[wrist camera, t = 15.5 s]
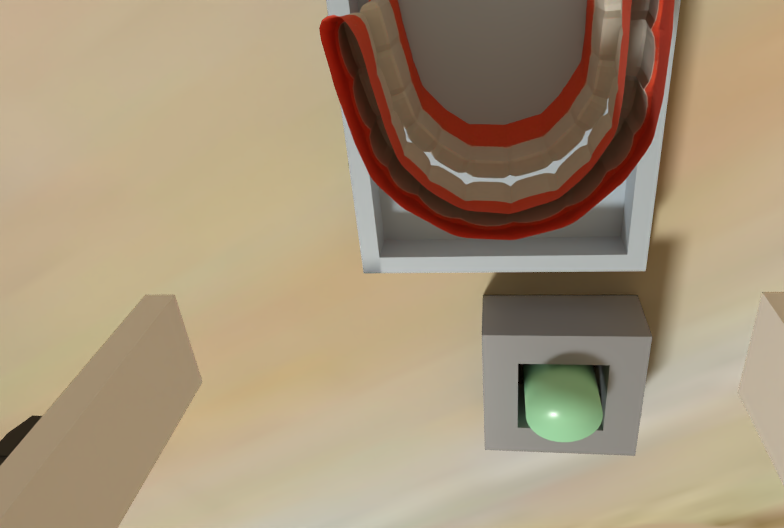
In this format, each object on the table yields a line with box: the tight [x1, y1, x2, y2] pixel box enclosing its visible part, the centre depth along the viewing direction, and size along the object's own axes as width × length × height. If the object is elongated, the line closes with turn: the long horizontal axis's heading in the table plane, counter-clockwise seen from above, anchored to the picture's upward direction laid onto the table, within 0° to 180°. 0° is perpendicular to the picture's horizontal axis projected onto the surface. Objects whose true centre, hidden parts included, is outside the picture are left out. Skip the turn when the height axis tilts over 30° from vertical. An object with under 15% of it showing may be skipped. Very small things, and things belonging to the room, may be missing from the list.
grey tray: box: [326, 0, 681, 273], centre depth 30 cm, size 16×20×3 cm
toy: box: [319, 0, 675, 240], centre depth 27 cm, size 12×10×8 cm
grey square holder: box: [482, 295, 652, 456], centre depth 38 cm, size 9×9×4 cm
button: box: [523, 364, 603, 442], centre depth 37 cm, size 4×4×4 cm
